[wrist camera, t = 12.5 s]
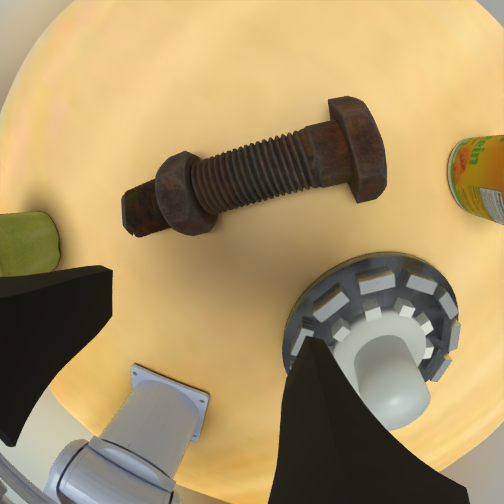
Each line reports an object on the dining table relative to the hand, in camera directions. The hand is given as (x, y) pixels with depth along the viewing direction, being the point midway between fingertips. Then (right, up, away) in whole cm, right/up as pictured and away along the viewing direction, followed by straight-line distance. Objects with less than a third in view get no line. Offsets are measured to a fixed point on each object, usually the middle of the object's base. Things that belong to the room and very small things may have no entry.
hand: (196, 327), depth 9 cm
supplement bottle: (+17, +8, +5) cm, 20 cm away
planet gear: (+11, -4, +8) cm, 14 cm away
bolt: (+1, +7, +8) cm, 11 cm away
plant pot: (-19, +4, +12) cm, 23 cm away
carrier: (+11, -4, +9) cm, 15 cm away
